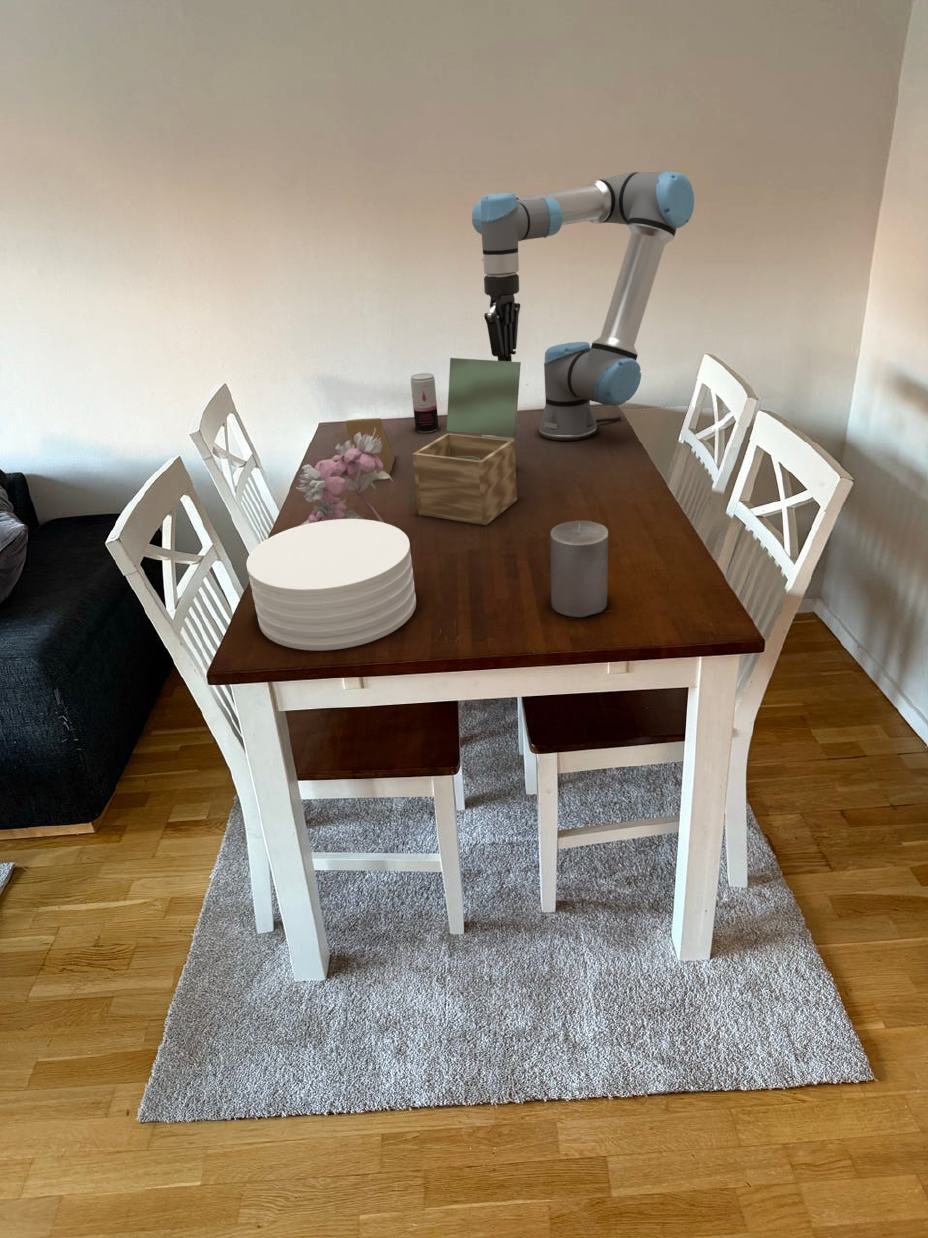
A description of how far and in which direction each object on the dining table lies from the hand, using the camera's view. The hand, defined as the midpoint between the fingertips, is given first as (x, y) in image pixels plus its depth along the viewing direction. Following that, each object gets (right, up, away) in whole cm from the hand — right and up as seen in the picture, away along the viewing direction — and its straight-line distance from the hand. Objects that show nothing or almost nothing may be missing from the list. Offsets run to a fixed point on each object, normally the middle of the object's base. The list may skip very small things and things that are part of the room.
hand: (505, 384), depth 197 cm
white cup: (-1, -17, +14) cm, 22 cm away
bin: (-9, -28, -5) cm, 30 cm away
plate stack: (-32, -52, -42) cm, 74 cm away
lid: (-6, -5, -9) cm, 12 cm away
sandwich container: (-32, -15, +22) cm, 42 cm away
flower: (-35, -38, -17) cm, 54 cm away
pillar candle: (+11, -51, -46) cm, 70 cm away
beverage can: (-20, 0, +47) cm, 51 cm away
